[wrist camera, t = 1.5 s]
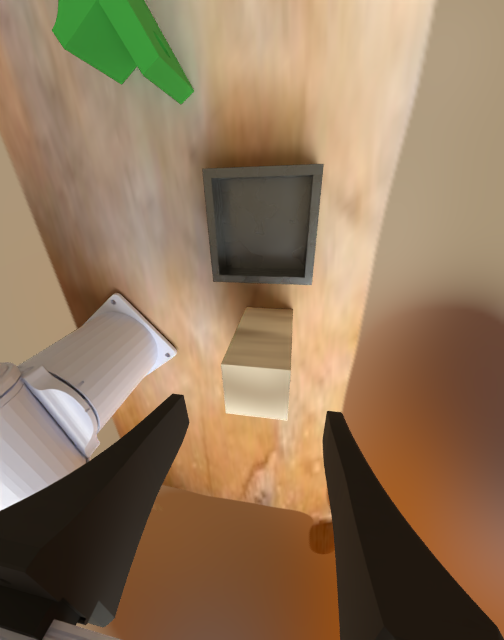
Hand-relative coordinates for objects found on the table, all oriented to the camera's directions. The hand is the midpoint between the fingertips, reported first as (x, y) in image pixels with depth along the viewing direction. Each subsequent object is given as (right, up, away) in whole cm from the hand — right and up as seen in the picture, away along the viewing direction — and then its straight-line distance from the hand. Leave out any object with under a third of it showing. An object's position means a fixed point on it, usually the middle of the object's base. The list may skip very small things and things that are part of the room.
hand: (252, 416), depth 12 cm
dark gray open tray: (+1, +12, +6) cm, 13 cm away
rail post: (+2, +4, +10) cm, 10 cm away
